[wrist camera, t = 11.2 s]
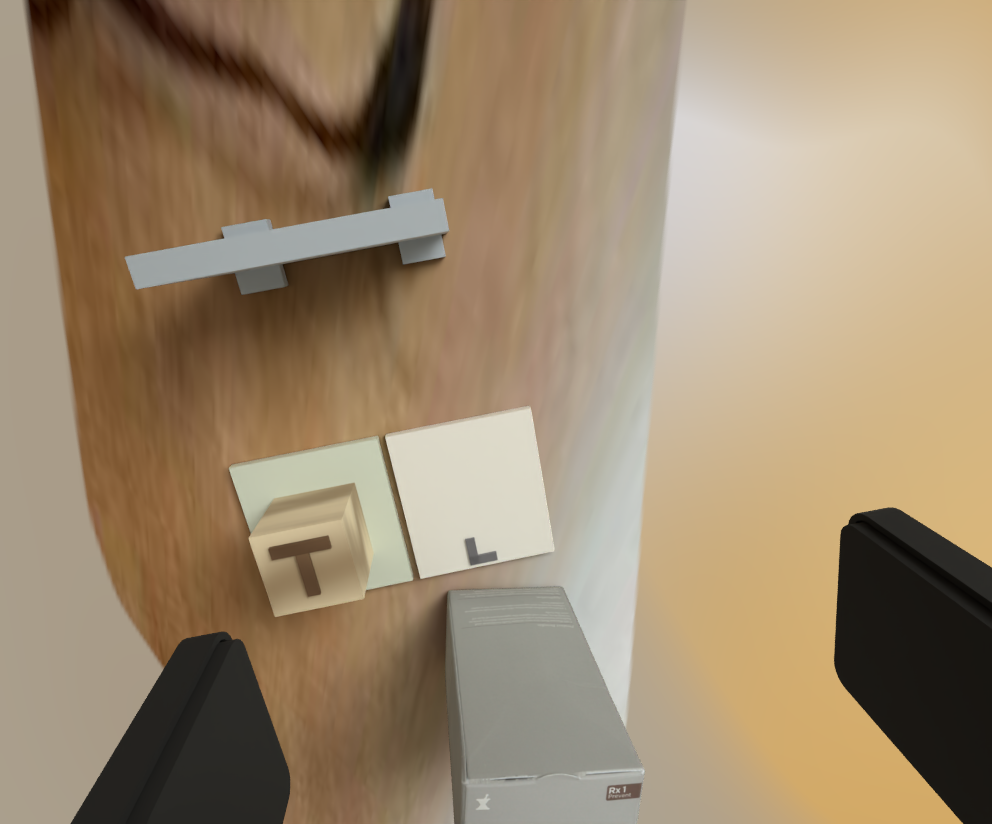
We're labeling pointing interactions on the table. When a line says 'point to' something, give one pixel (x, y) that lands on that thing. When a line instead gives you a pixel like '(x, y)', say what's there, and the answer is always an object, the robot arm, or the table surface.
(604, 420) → the table surface
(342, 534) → the letter cube
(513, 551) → the pad
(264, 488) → the pad
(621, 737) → the skincare box
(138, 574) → the table surface
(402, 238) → the screen
